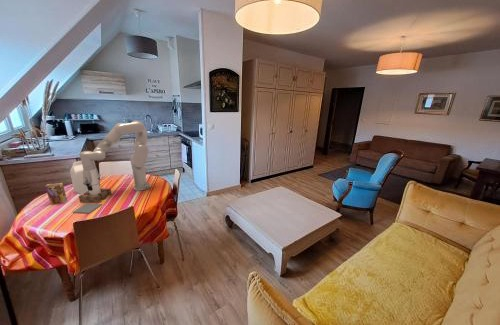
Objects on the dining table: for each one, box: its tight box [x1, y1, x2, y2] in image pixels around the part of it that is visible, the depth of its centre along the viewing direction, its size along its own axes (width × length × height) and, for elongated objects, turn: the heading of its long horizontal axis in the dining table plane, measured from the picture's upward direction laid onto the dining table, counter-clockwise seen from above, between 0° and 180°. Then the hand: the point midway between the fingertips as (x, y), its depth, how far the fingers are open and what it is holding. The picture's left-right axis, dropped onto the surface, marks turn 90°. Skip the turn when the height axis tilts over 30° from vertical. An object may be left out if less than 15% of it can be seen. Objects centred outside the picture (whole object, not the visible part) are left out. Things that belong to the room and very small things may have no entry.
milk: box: [69, 160, 88, 195], centre depth 168 cm, size 12×12×26 cm
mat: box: [72, 202, 103, 215], centre depth 144 cm, size 12×12×1 cm
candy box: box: [44, 182, 68, 205], centre depth 149 cm, size 9×4×15 cm, turn 107°
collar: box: [78, 187, 113, 204], centre depth 159 cm, size 15×15×5 cm
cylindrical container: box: [87, 169, 101, 195], centre depth 155 cm, size 7×7×25 cm
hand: (94, 188), depth 157 cm, fingers closed on cylindrical container, 7 cm apart
